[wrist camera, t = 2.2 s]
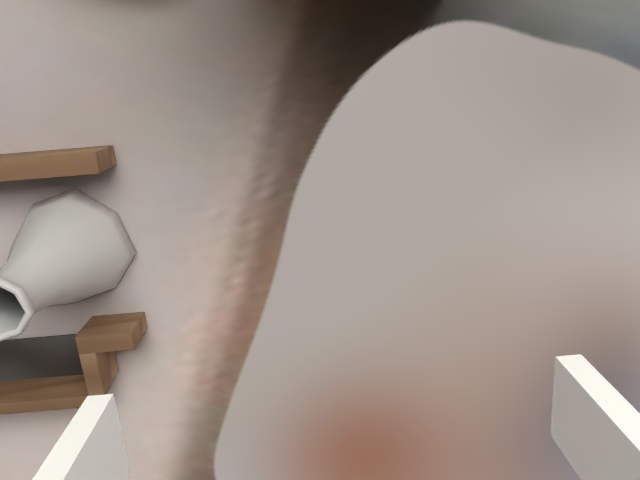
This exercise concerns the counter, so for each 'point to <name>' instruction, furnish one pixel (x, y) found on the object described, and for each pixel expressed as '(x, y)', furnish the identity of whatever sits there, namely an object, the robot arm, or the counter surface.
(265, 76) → the counter surface
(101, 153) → the box
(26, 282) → the flask
